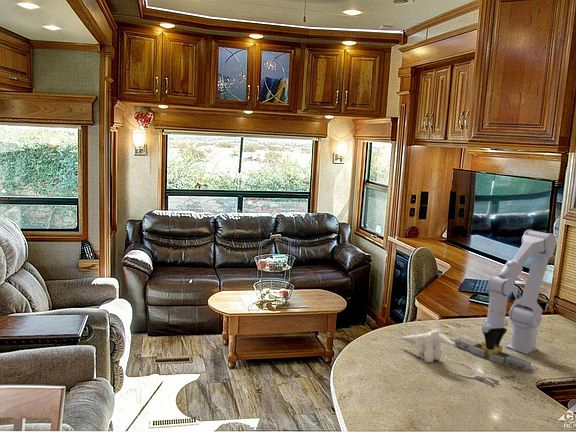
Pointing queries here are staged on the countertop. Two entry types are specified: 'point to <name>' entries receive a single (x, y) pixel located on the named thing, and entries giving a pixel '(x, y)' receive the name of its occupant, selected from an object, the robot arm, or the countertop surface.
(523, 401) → the countertop surface
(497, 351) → the brushed brass bar
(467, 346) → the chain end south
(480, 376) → the pliers
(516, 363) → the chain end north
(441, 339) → the dinosaur statue
